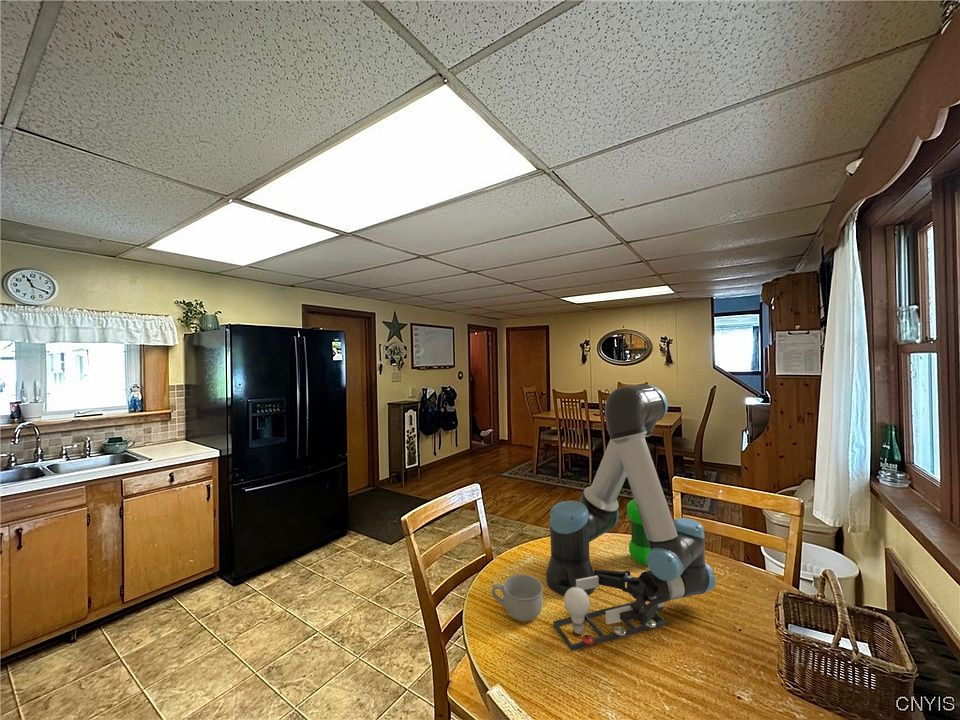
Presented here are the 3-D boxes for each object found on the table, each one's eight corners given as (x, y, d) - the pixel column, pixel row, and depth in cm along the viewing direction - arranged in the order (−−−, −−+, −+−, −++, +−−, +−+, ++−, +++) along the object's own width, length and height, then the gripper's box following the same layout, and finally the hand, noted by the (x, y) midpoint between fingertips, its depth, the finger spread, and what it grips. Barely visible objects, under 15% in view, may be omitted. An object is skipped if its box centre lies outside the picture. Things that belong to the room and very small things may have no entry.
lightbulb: (588, 624, 98) (586, 581, 98) (593, 642, 92) (591, 597, 92) (564, 623, 99) (562, 581, 99) (567, 641, 92) (564, 596, 92)
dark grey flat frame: (553, 626, 98) (553, 619, 98) (641, 604, 106) (641, 598, 106) (573, 654, 88) (573, 647, 88) (669, 628, 96) (669, 621, 96)
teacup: (546, 605, 106) (545, 577, 106) (539, 632, 96) (538, 600, 96) (498, 597, 111) (498, 569, 111) (487, 621, 100) (486, 590, 100)
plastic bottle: (656, 572, 121) (654, 494, 121) (623, 562, 128) (621, 488, 128) (664, 559, 129) (662, 486, 129) (632, 550, 136) (630, 480, 136)
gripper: (699, 630, 89) (622, 651, 83) (630, 574, 113) (566, 587, 107) (698, 598, 89) (621, 617, 83) (629, 549, 113) (566, 561, 107)
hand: (590, 600), depth 95 cm, fingers open, 13 cm apart
